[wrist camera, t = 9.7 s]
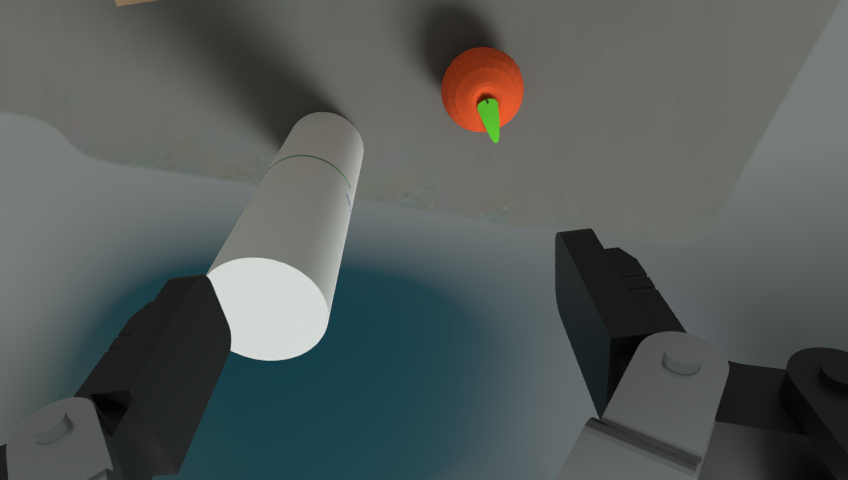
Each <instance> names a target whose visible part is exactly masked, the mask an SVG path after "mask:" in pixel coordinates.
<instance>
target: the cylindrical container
mask: <svg viewBox="0 0 848 480" xmlns="http://www.w3.org/2000/svg"><path fill="white" fill-rule="evenodd" d="M362 158H363V142H362V139H361V136H360V134H359V132H358V131H357V129H356V128H355V127H354V125H353V124H351V123H350V122H349V121H348V120H347V119H345V118H343V117H342V116H340V115H337V114H334V113H330V112H316V113H311V114H309V115H306V116H305V117H303V118H302V119H300V120H299V121H298V122H297V123H296V124H295V125H294V127H293V129H292V130H291V132H290V134H289V135H288V137H287V139H286V140H285V142H284V144H283V145H282V147H281V149H280V150H279V152H278V154H277V156H276V157H275V159H274V161H273V162H272V164H271V166H270V167H269V169H268V171H267V172H266V174H265V176H264V177H263V179H262V181H261V183H260V184H259V186H258V188H257V189H256V191H255V193H254V194H253V196H252V198H251V200H250V201H249V203H248V205H247V206H246V208H245V210H244V211H243V213H242V215H241V217H240V218H239V220H238V222H237V223H236V225H235V227H234V229H233V230H232V232H231V234H230V236H229V237H228V239H227V240H226V242H225V244H224V245H223V247H222V249H221V251H220V252H219V254H218V256H217V258H216V259H215V261H214V262H213V264H212V266H211V268H210V269H209V271H208V273H207V274H206V276H207V277H208V278H209V279H210V281H211V283H212V285H213V287H214V290H215V292H216V295H217V297H218V299H219V302H220V304H221V307H222V309H223V312H224V314H225V317H226V319H227V321H228V324H229V327H230V330H231V349H230V350H231V351H233V352H235V353H238V354H240V355H242V356H246V357H249V358H253V359H260V360H283V359H289V358H292V357H296V356H299V355H301V354H303V353H305V352H307V351H308V350H310V349H311V348H312V347H313V346H315V345H316V344H317V343H318V342H319V340H320V339H321V338H322V336H323V335H324V333H325V330H326V328H327V325H328V320H329V315H330V310H331V306H332V301H333V296H334V291H335V286H336V281H337V276H338V272H339V266H340V262H341V258H342V253H343V248H344V244H345V239H346V234H347V229H348V225H349V220H350V215H351V210H352V206H353V201H354V196H355V191H356V186H357V182H358V177H359V172H360V168H361V163H362Z"/></svg>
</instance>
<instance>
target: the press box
mask: <svg viewBox="0 0 848 480" xmlns="http://www.w3.org/2000/svg"><path fill="white" fill-rule="evenodd" d="M150 1H157V0H115V2H116V5H117V6H123V5H130V4H137V3H144V2H150ZM211 1H215V0H211Z"/></svg>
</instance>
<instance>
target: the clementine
mask: <svg viewBox="0 0 848 480" xmlns="http://www.w3.org/2000/svg"><path fill="white" fill-rule="evenodd" d="M523 93H524V88H523V78H522V75H521V72H520V70H519V67H518V66H517V64H516V63H515V62H514V60H513V59H512V58H511V57H509V56H508V55H507V54H505V53H504V52H502V51H499V50H497V49H494V48H490V47H477V48H472V49H469V50H467V51H465V52H463V53H461V54H460V55H459V56H458V57H456V58H455V59H454V60H453V61H452V63H451V64H450V65H449V67H448V68H447V70H446V73H445V75H444V78H443V81H442V89H441V95H442V101H443V104H444V106H445V109H446V111H447V113H448V114H449V115H450V117H451V118H452V119H453V120H454V121H455V123H457V124H458V125H460V126H461V127H463V128H465V129H468V130H471V131H476V132H486V131H488V133H489V135H490V137H491V139H492V140H493V142H494V143H497V142H498V140H499V127H501V126H503V125H505V124H506V123H507V122H508V121H510V120H511V119H512V118H513V116H514V115H515V114H516V112H517V111H518V109H519V107H520V105H521V102H522V98H523Z"/></svg>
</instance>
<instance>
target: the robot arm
mask: <svg viewBox="0 0 848 480" xmlns="http://www.w3.org/2000/svg"><path fill="white" fill-rule="evenodd" d="M555 289H556V301H557V306H558V311H559V314H560V317H561V320H562V322H563V325H564V328H565V330H566V333H567V335H568V338H569V341H570V343H571V346H572V348H573V351H574V354H575V356H576V359H577V362H578V364H579V367H580V369H581V372H582V374H583V377H584V380H585V382H586V385H587V388H588V390H589V393H590V395H591V398H592V401H593V403H594V406H595V409H596V411H597V414H598V416H599V419H600V420H598V419H596V418H594V417H593V418H590V419H589V420H588V421H587V423H586V424H585V426H584V427H583V429H582V431H581V433H580V434H579V436H578V438H577V440H576V442H575V444H574V446H573V447H572V450H571V451H570V453H569V455H568V457H567V458H566V461H565V462H564V464H563V466H562V468H561V470H560V471H559V473H558V475H557V477H556V479H555V480H848V352H845V351H842V350H837V349H832V348H809V349H804V350H801V351H798V352H796V353H795V354H793V355H792V356H791V357H790V359H789V360H788V363H787V367H786V370H785V369H777V368H769V367H760V366H753V365H745V364H739V363H734V362H730V361H727V359H726V357H725V356H724V354H723V353H722V352H721V351H720V350H719V349H718V348H717V347H716V346H715V345H713V344H712V343H710V342H709V341H707V340H705V339H703V338H701V337H698V336H695V335H692V334H688V333H687V332H686V331H685V330H684V328H683V327H682V325H681V324H680V322H679V321H678V319H677V318H676V316H675V315H674V313H673V312H672V310H671V309H670V307H669V306H668V304H667V303H666V302H665V300H664V299H663V297H662V296H661V294H660V293H659V291H658V290H656V289H655V285H654V284H653V282H652V281H651V279H650V278H649V277H647V274H646V272H645V271H644V269H643V268H642V266H641V265H640V264H639V262H638V260H637V259H636V258H634V257H632V256H631V255H629V254H628V253H626V252H625V251H623V250H622V249H620V248H609V249H604V248H603V246H602V245H601V243H600V242H599V240H598V238H597V236H596V235H595V233H594V231H593V230H592V229H581V230H573V231H565V232H558V233H557V234H556V239H555ZM230 349H231V330H230V327H229V324H228V321H227V319H226V317H225V314H224V312H223V309H222V307H221V304H220V302H219V299H218V297H217V295H216V292H215V290H214V287H213V285H212V283H211V281H210V279H209V278H208V277H207V276H206V275H195V276H186V277H178V278H171V279H169V280H168V281H167V282H166V284H165V286H164V287H163V288H162V290H161V291H160V293H159V294H158V295H157V297H156V298H155V300H154V301H153V302H149V303H148V304H147V305H146V306H144V307H143V308H142V309H141V310H139V311H138V312H137V313H136V314H135V315H133V316H132V317H131V318H130V319H129V321H128V322H127V323H126V325H125V326H124V328H123V329H122V330H121V332H120V333H119V337H118V338H116V339H115V340H114V341H113V343H112V344H111V346H110V347H109V351H108V352H105V354H104V355H103V357H102V358H101V360H100V361H99V362H98V364H97V365H96V366H95V368H94V369H93V371H92V372H91V373H90V375H89V376H88V378H87V379H86V380H85V382H84V383H83V384H82V386H81V387H80V389H79V390H78V392H77V393H76V394H75V396H74V397H73V398H68V399H64V400H60V401H57V402H55V403H52V404H50V405H48V406H46V407H44V408H42V409H41V410H39V411H37V412H36V413H34V414H33V415H32V416H30V417H29V418H28V419H26V420H25V421H24V422H23V423H22V424H21V425H20V426H19V427H18V428H17V429H16V430H15V431H14V433H13V434H12V435H11V437H10V439H9V441H8V443H7V444H5V445H2V446H0V480H151V479H152V477H153V476H161V475H171V474H178V472H179V470H180V467H181V465H182V463H183V461H184V458H185V456H186V453H187V451H188V449H189V447H190V444H191V442H192V439H193V437H194V435H195V432H196V430H197V428H198V425H199V423H200V421H201V418H202V416H203V413H204V411H205V409H206V407H207V404H208V402H209V400H210V397H211V395H212V393H213V390H214V388H215V385H216V383H217V381H218V379H219V376H220V374H221V372H222V369H223V367H224V364H225V362H226V360H227V357H228V355H229V353H230Z"/></svg>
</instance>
